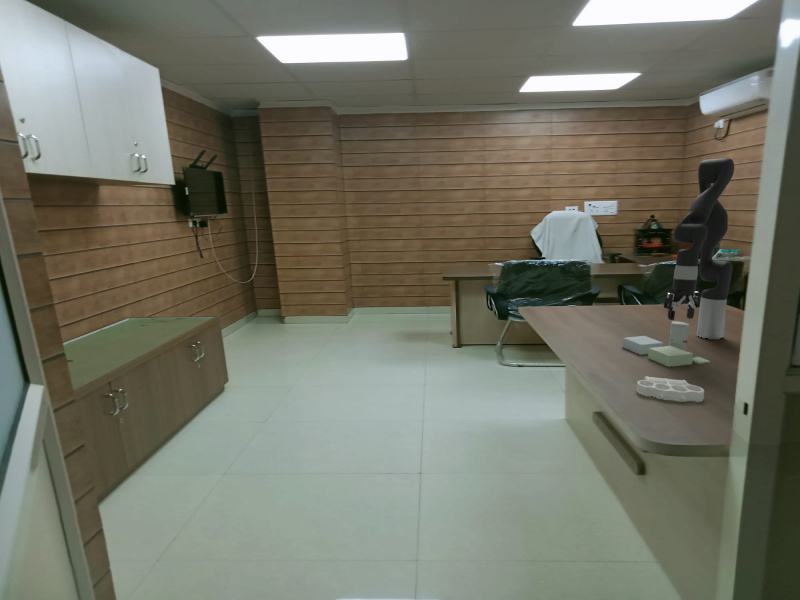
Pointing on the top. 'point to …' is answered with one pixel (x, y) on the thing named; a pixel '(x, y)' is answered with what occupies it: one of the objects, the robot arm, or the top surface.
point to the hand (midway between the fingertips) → (680, 319)
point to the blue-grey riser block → (640, 344)
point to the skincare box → (679, 335)
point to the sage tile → (699, 360)
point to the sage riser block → (670, 356)
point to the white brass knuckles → (670, 389)
